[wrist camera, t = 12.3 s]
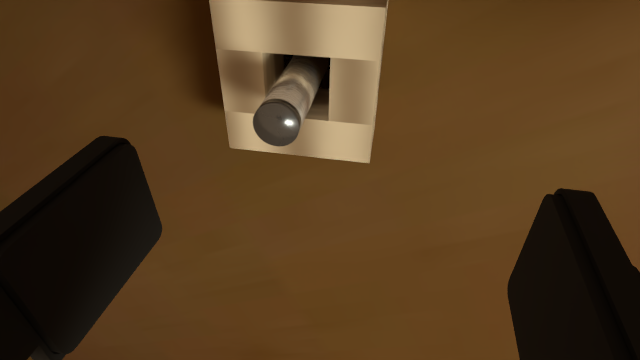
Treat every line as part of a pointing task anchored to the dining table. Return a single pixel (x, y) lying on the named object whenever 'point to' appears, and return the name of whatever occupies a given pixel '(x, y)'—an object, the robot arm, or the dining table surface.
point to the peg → (289, 100)
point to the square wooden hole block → (308, 40)
